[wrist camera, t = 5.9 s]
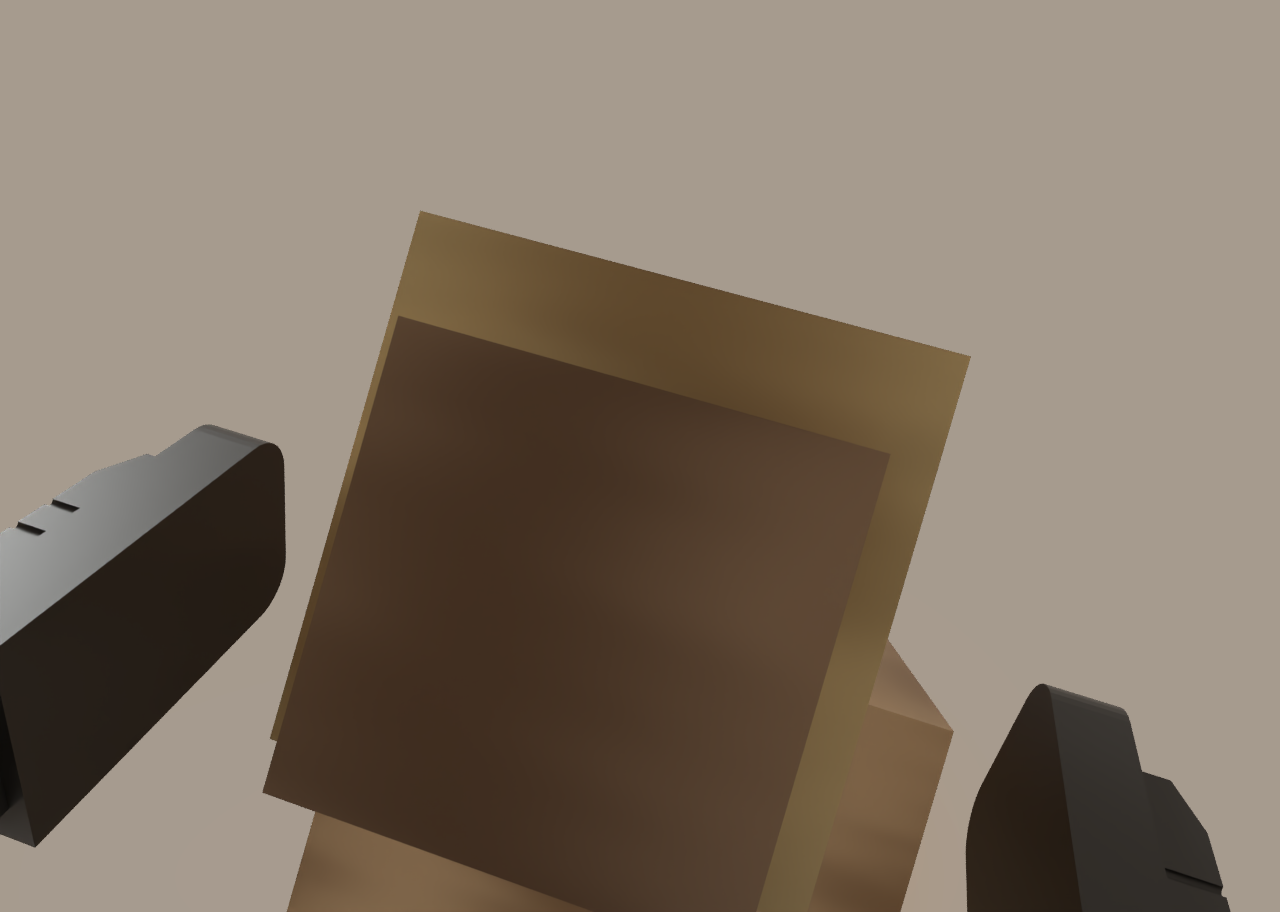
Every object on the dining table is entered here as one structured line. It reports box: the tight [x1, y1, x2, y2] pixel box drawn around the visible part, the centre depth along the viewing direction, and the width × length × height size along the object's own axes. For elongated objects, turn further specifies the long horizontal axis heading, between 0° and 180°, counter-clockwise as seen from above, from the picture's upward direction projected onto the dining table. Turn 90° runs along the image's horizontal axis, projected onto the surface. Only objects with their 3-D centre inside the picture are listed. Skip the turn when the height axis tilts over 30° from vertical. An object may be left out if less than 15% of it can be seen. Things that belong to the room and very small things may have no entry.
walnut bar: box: [263, 211, 971, 912], centre depth 22 cm, size 4×30×4 cm, turn 172°
